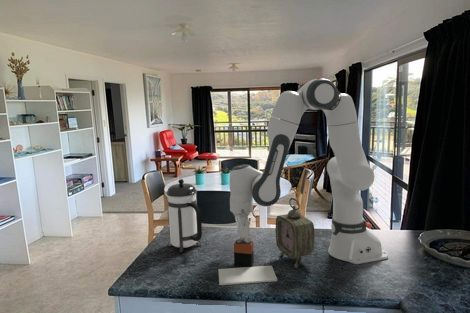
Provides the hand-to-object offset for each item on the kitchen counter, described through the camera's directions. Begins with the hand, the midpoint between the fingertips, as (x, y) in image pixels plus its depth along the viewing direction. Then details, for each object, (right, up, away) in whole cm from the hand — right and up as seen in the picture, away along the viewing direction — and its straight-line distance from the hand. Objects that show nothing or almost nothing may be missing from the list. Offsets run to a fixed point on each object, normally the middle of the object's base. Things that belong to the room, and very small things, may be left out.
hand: (242, 239), depth 129 cm
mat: (+1, -10, -13) cm, 16 cm away
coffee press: (-24, -7, +13) cm, 28 cm away
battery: (+1, -9, -4) cm, 10 cm away
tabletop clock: (+20, -8, -2) cm, 22 cm away
